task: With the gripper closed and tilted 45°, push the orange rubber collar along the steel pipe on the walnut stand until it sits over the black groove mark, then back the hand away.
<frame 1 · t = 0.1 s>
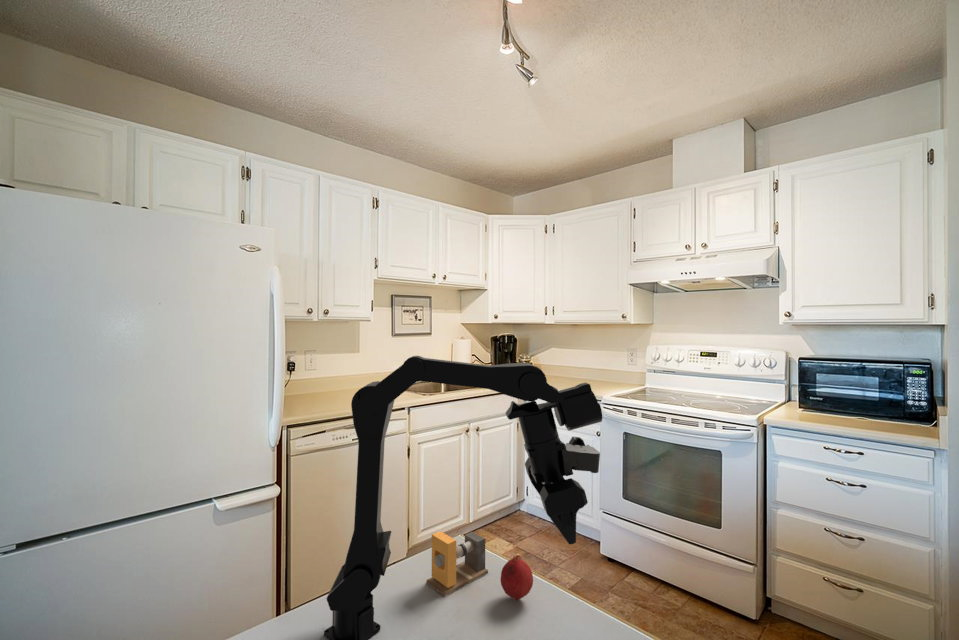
hand: (564, 529, 70), 15 cm above the countertop, tool pointing down, fingers open, 9 cm apart
onion: (516, 600, 76), on the countertop
collar: (443, 558, 80), point 5 cm above the countertop, slide at 0.0 cm
pipe stand: (457, 578, 83), on the countertop
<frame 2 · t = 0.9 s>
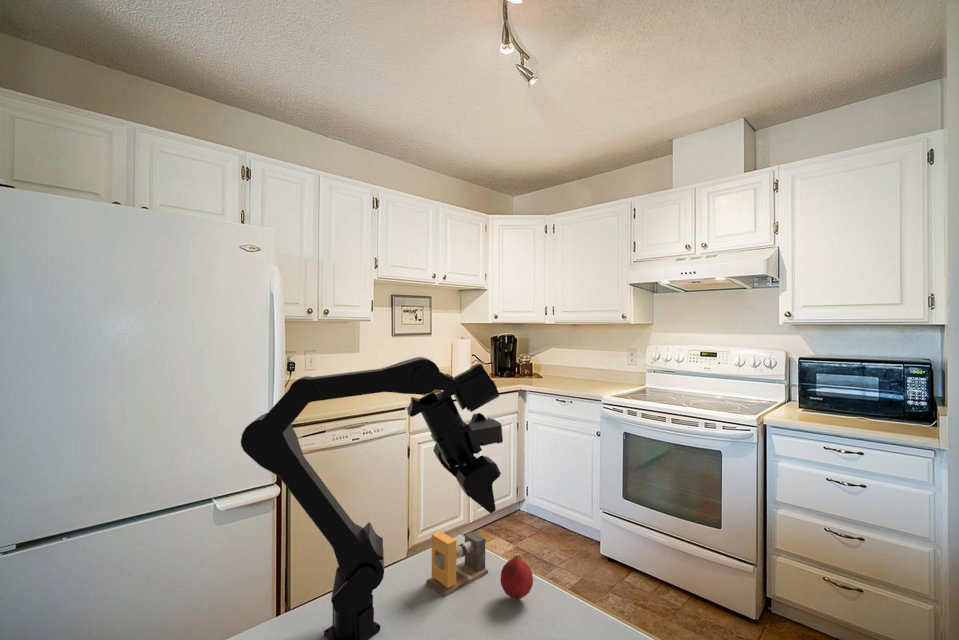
hand: (482, 500, 75), 18 cm above the countertop, tool tilted 25°, fingers open, 9 cm apart
nothing on the countertop moved.
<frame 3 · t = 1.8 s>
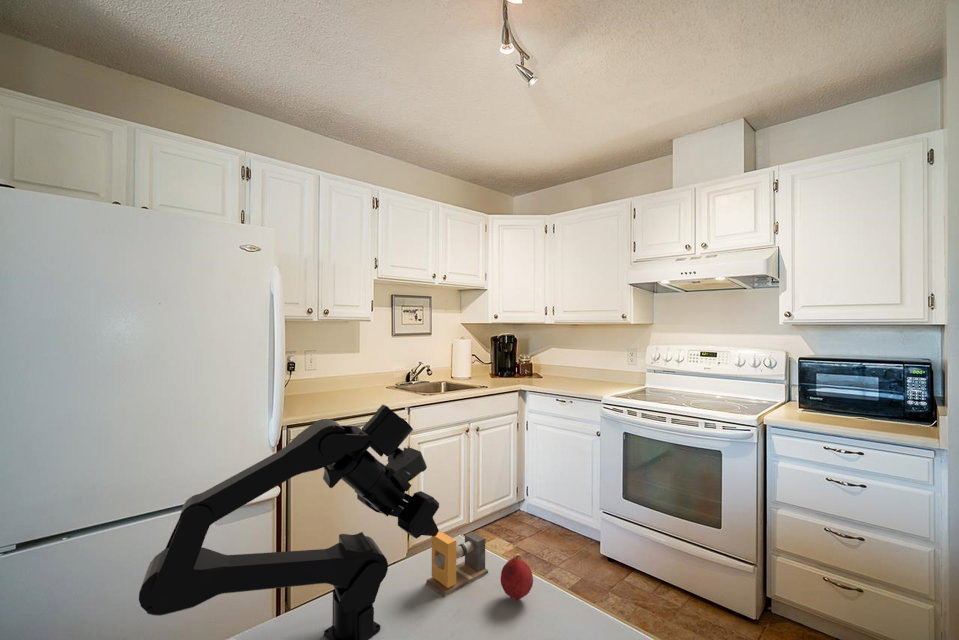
hand: (423, 524, 77), 13 cm above the countertop, tool tilted 45°, fingers open, 8 cm apart
nothing on the countertop moved.
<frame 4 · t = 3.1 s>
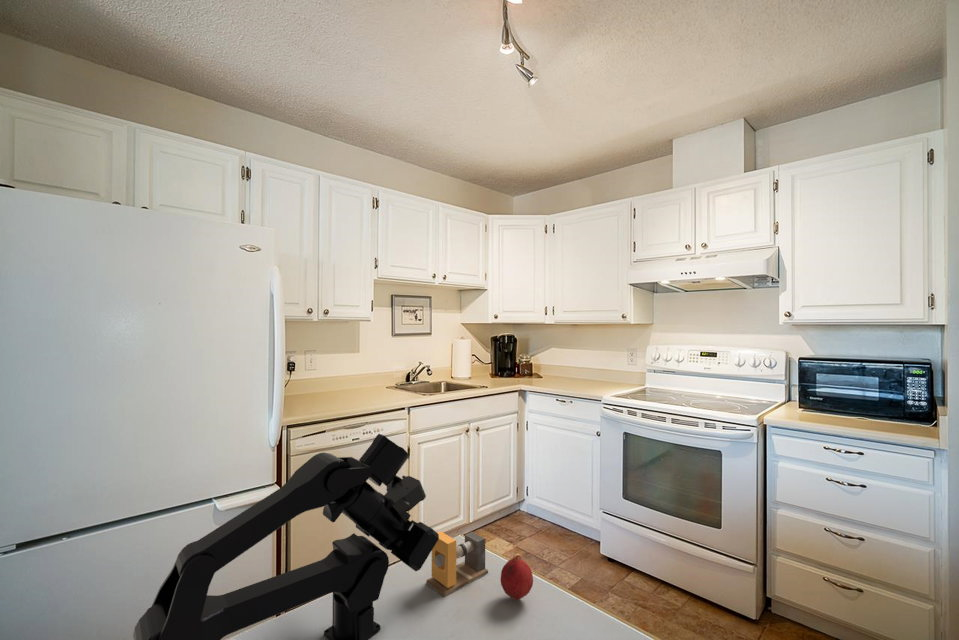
hand: (421, 553, 77), 8 cm above the countertop, tool tilted 45°, fingers closed
nothing on the countertop moved.
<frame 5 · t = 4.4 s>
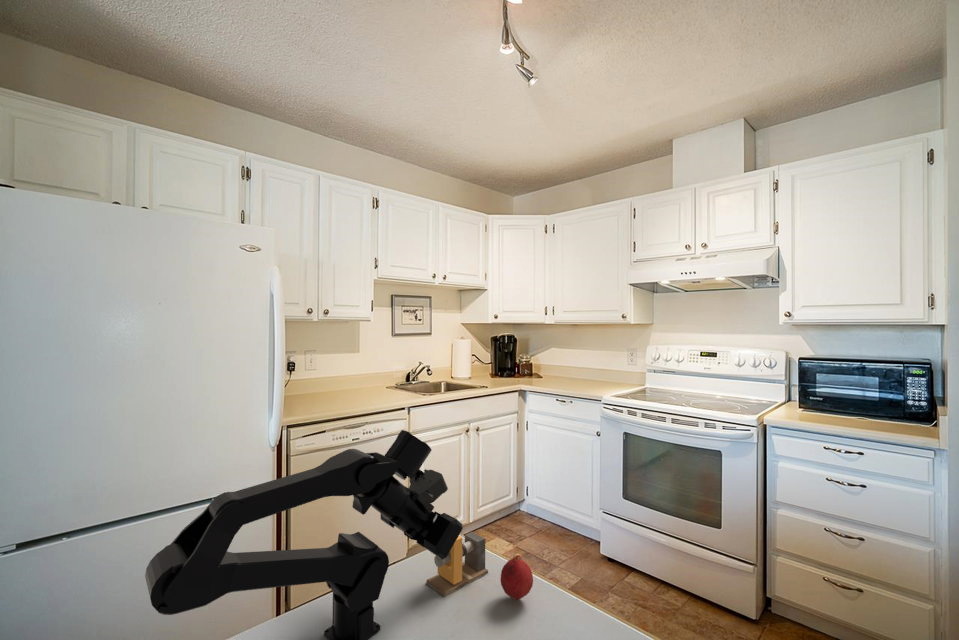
hand: (444, 542, 81), 8 cm above the countertop, tool tilted 45°, fingers closed, pressing on collar
collar: (449, 555, 81), point 5 cm above the countertop, slide at 1.5 cm, touching gripper
everything else where it was.
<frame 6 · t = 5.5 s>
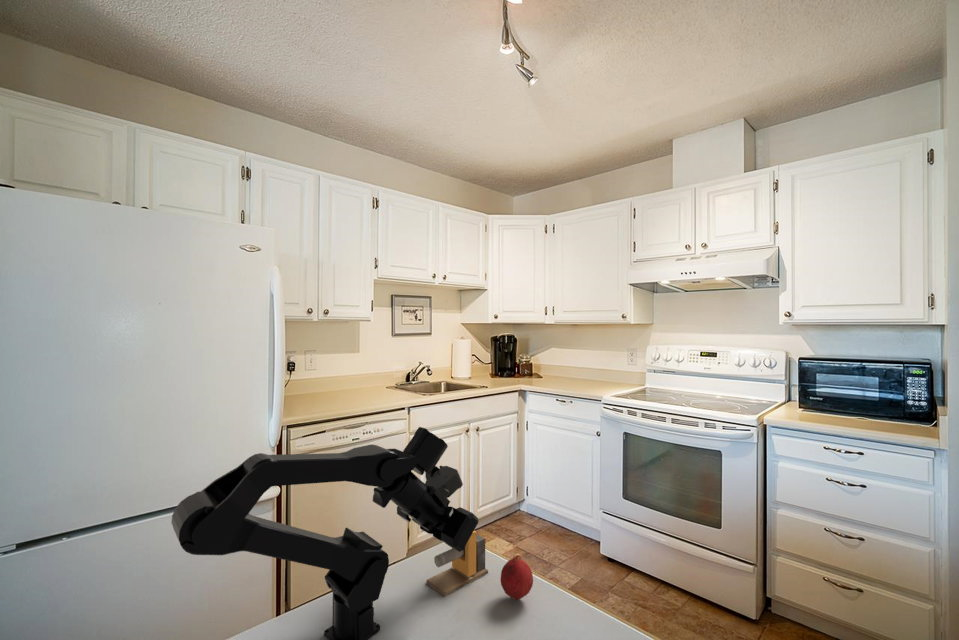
hand: (459, 537, 83), 8 cm above the countertop, tool tilted 45°, fingers closed, pressing on collar
collar: (464, 549, 84), point 5 cm above the countertop, slide at 5.1 cm, touching gripper
everything else where it was.
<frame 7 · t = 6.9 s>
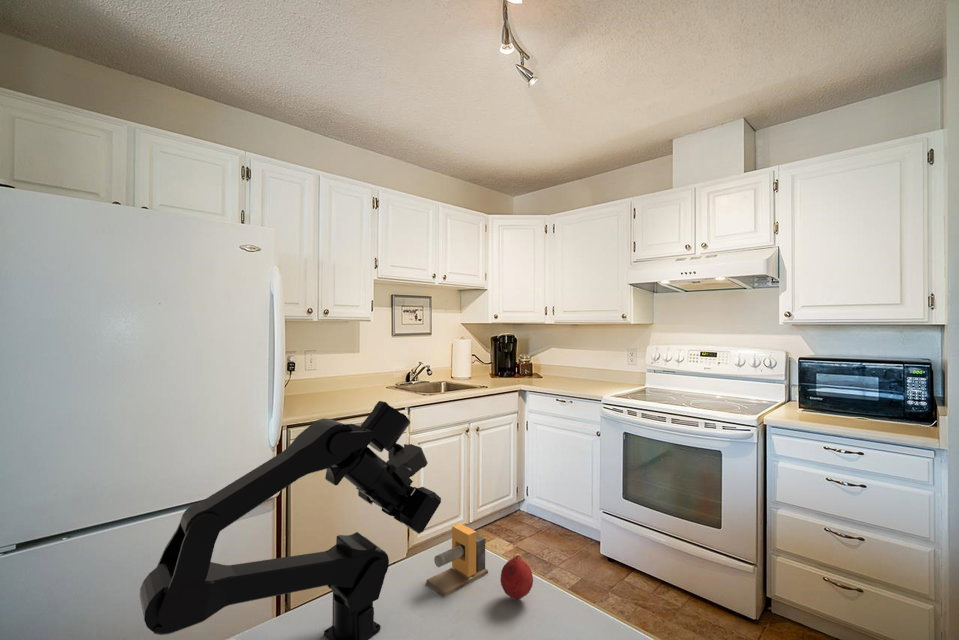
hand: (424, 520, 78), 14 cm above the countertop, tool tilted 45°, fingers closed
collar: (464, 549, 84), point 5 cm above the countertop, slide at 5.1 cm
everything else where it was.
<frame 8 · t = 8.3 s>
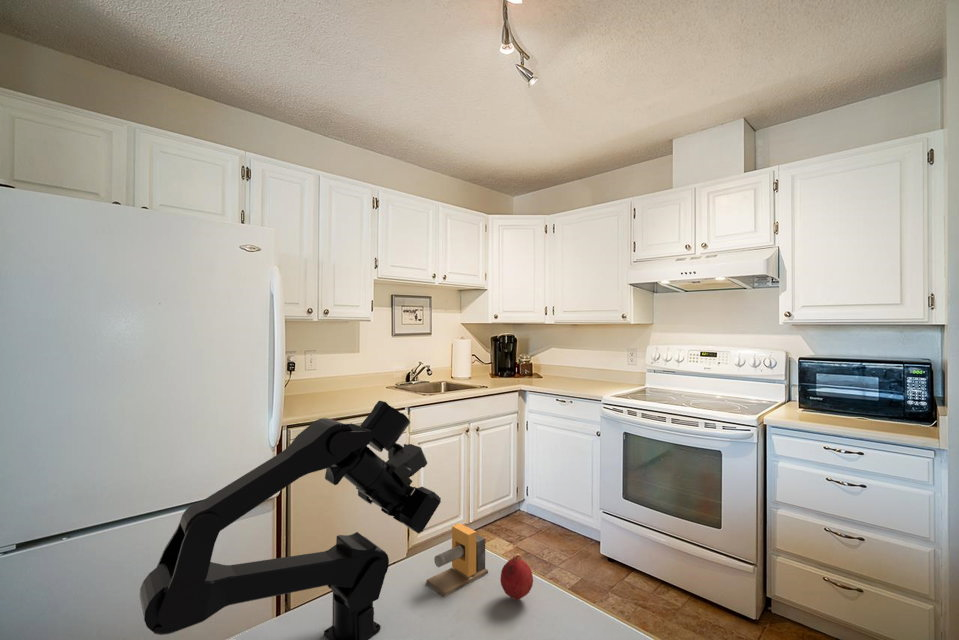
hand: (424, 520, 78), 14 cm above the countertop, tool tilted 45°, fingers closed
nothing on the countertop moved.
at the end: collar slide at 5.1 cm; onion moved 0.2 cm from its start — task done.
